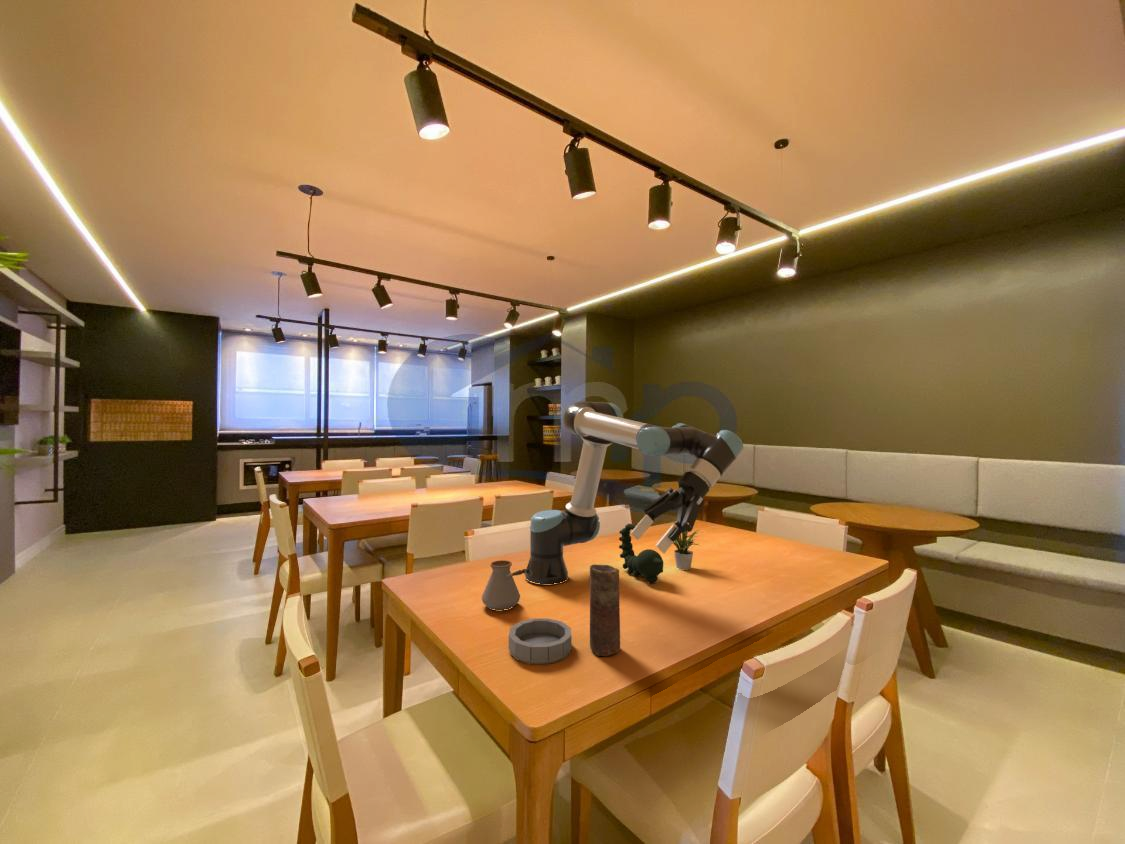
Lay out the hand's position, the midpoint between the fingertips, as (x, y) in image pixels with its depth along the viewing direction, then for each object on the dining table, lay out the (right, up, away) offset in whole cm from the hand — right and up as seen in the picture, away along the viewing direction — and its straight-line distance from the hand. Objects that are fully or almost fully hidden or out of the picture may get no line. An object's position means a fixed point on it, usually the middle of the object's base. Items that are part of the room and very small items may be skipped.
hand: (646, 542), depth 111 cm
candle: (-11, -25, -3) cm, 28 cm away
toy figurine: (+8, -26, +50) cm, 57 cm away
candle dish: (-26, -25, -3) cm, 36 cm away
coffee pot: (-36, -25, +19) cm, 48 cm away
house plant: (+26, -26, +59) cm, 70 cm away
